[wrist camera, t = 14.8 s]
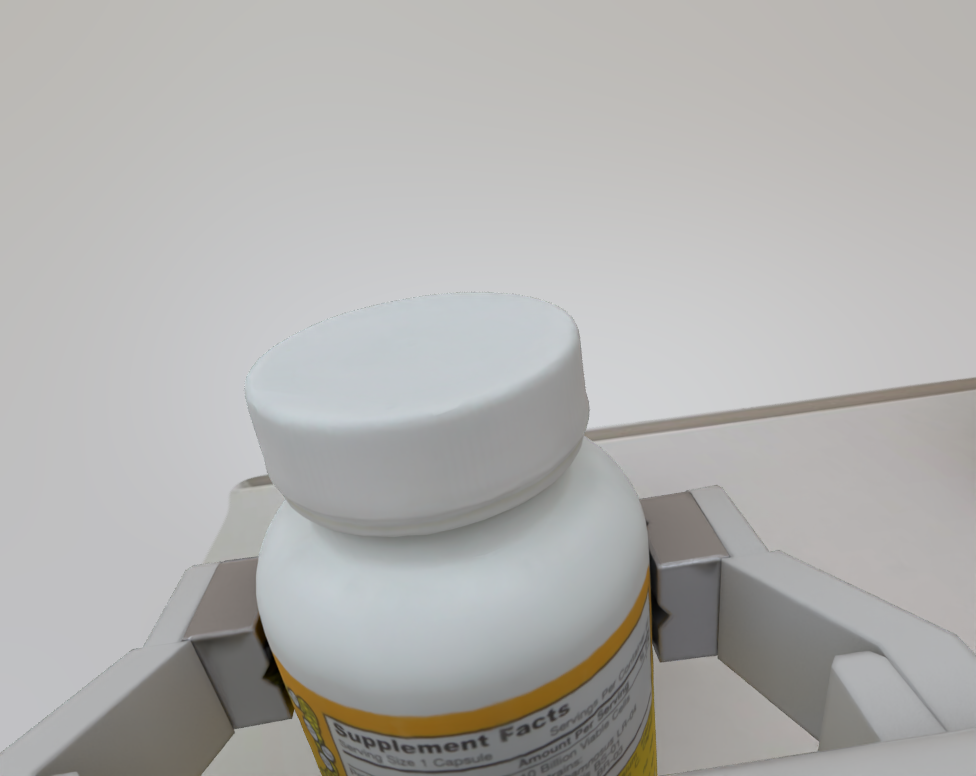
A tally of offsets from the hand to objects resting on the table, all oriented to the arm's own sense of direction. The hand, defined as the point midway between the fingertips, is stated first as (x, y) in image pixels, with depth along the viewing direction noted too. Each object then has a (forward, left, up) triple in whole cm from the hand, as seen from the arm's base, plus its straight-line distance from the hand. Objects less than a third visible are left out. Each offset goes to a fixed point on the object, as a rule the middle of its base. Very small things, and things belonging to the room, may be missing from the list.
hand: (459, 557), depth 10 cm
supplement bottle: (-1, -1, -6) cm, 6 cm away
